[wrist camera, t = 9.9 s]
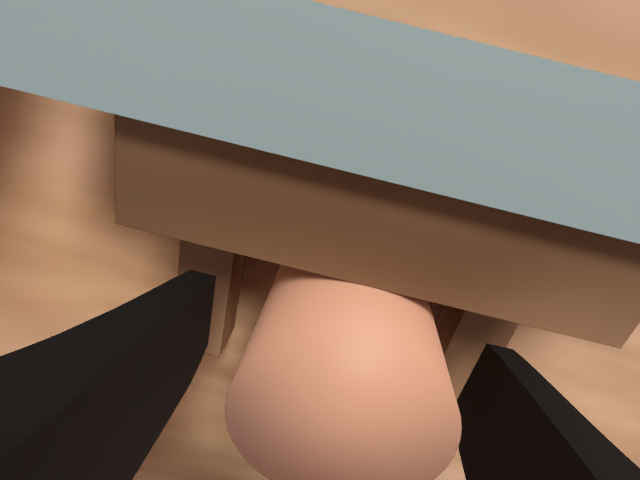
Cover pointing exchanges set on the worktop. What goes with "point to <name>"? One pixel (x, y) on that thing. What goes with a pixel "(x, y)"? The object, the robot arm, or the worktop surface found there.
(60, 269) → the worktop surface
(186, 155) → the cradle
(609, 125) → the backstop board
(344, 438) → the pink egg shape
